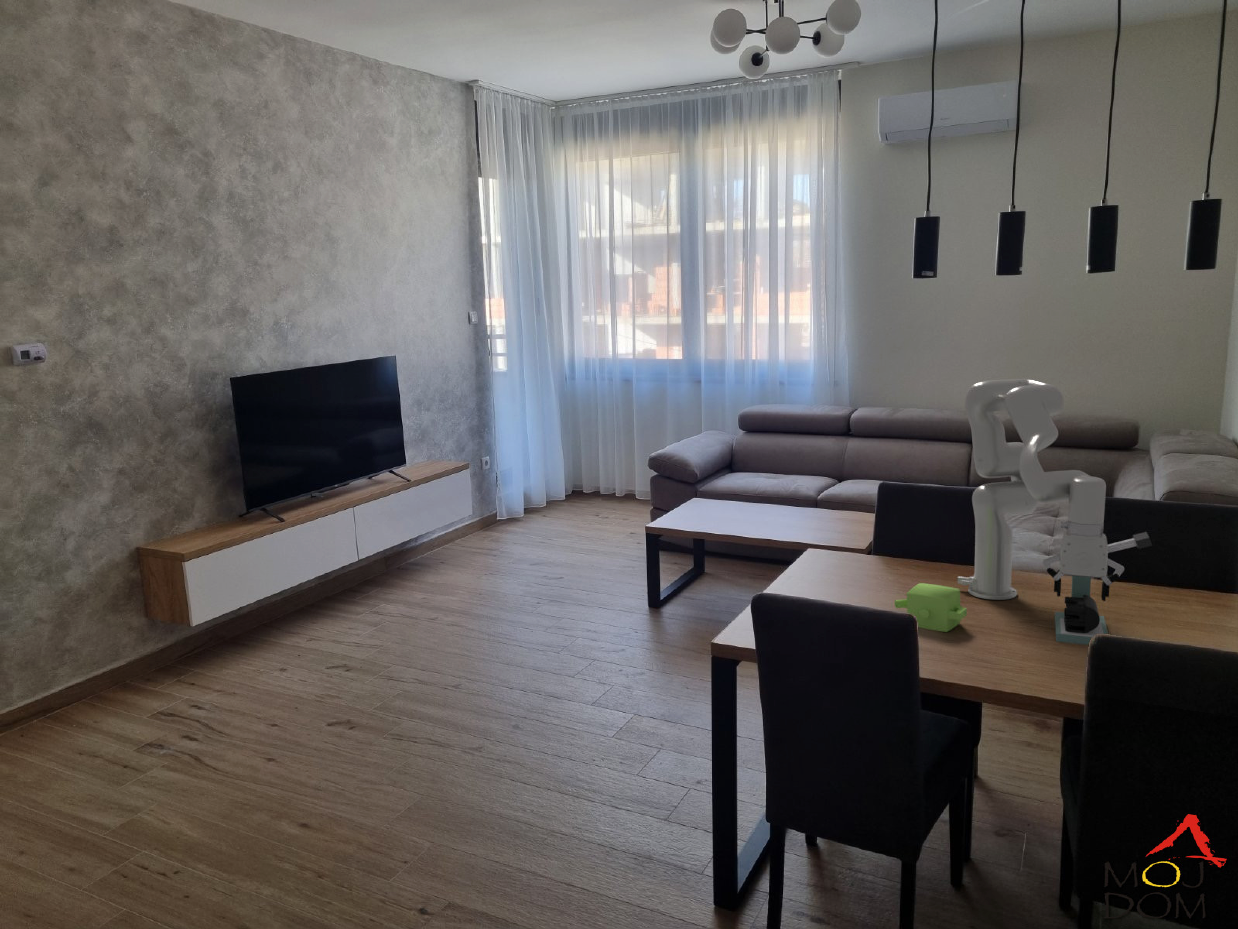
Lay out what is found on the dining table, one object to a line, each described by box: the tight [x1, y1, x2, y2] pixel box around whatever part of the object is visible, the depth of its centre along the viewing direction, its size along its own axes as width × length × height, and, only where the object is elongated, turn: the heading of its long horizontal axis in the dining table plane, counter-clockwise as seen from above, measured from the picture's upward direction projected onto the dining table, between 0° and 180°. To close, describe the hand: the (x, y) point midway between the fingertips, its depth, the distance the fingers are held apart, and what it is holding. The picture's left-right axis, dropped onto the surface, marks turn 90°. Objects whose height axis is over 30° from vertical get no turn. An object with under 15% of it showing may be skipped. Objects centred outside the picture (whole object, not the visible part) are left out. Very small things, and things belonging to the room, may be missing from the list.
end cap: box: [1063, 595, 1100, 633], centre depth 212 cm, size 10×7×7 cm
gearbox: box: [894, 582, 968, 633], centre depth 225 cm, size 18×10×10 cm, turn 48°
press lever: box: [1107, 531, 1153, 554], centre depth 215 cm, size 16×6×3 cm, turn 65°
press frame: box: [1054, 576, 1109, 646], centre depth 215 cm, size 11×17×16 cm, turn 155°
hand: (1080, 597), depth 212 cm, fingers open, 9 cm apart
